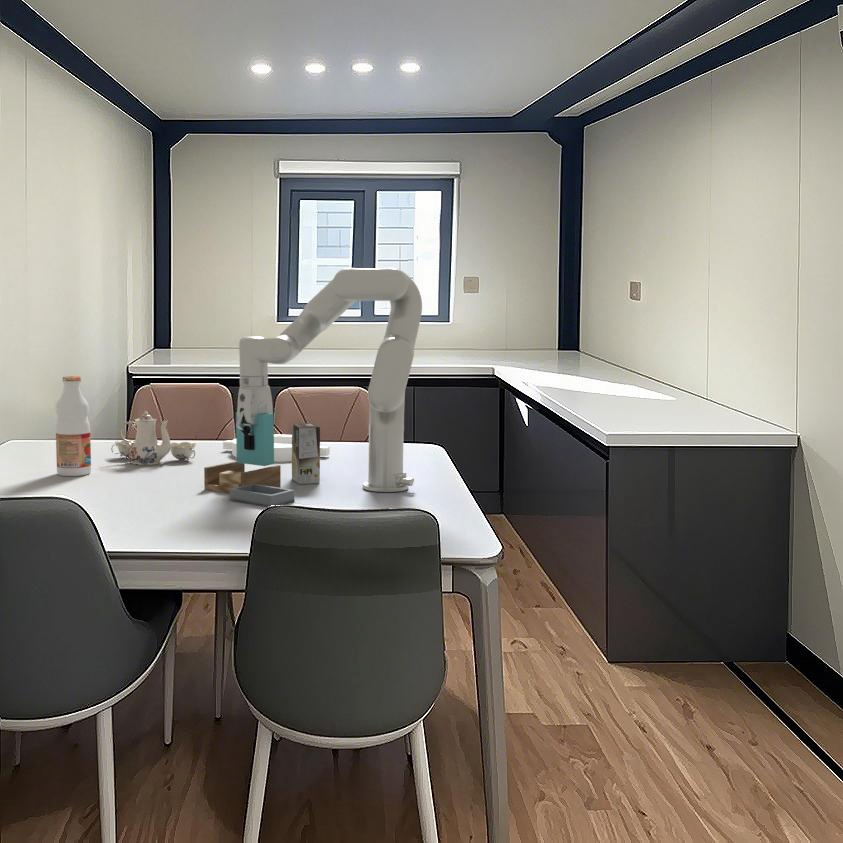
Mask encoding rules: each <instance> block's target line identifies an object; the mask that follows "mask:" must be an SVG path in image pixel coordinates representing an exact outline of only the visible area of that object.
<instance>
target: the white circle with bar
mask: <svg viewBox="0 0 843 843" xmlns="http://www.w3.org/2000/svg"><path fill="white" fill-rule="evenodd" d="M222 449H223V450H231V455H233V456H232V457H234V456H235V457H234V458H236V457H237V448H236V438H233V439H232V440H229V439H228V440H224V441H223V442H222ZM330 451H331V450H330V446H326V445H325V446H321V445H320V457H321V456H322V457H327V456H329V455H331V454H330ZM276 462H277V463H278V462H280V463H282V462H292V434H283V433H281V434H279V433H278V434H275V433H274V463H276Z"/></svg>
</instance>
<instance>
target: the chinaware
mask: <svg viewBox="0 0 843 843" xmlns="http://www.w3.org/2000/svg"><path fill="white" fill-rule="evenodd" d="M157 421H158V419H157V418H153V417H152V416H151V415H150V414H149V412H148V411H147V410H144V412H143V414H142V415H140V417H139V418H137V419H134V421H125V422H124V423H123V424H122V425H121V426H120V428H119V435H120V437H121V439H122V440H121V441H119V440H116V441H114V444H112V445H111V452H112V453H113V454H115V455H118V454H119V457H123V456H124V458H125V457H128V458H131V459H130V460H131V461H132V464H133V465H135V464H138V465H137V466H154V465H159V464H161V463H162V462H161V460H162V459H164V458H165V457H166V456H167V455H168V454H169V453H171V455H172V457H174V458H175V459H176V461H177V462H181V463H182V462H183V463H184V462H188V461H190V459H194V458H195V456H196V451H195V447H196V446H197V443H191V442H187V441H183V442H181V443H177V442H171V439H170V436H169V433H168V429H167V426H166V425H167V423H169V420H168V419H165V420H163V421H162V422H161V426H160V433H161V441H162V442H161V443H160V442H158V438H157V435H156V423H157ZM128 424H132V425H131V428H132V429H135V428H136V436H135V440H131V439H126V438H125V436H124V435H123V428H124V426H126V425H128ZM114 446H115V447H117V449H118V452H117V453H115V451H113V450H114V449H113V447H114ZM191 456H192V457H191Z"/></svg>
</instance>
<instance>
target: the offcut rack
mask: <svg viewBox="0 0 843 843" xmlns="http://www.w3.org/2000/svg"><path fill="white" fill-rule="evenodd" d="M245 465H246V464H243V463H237V460H235V461H231V462H226V463H219V464H215V465H211V466H206V467H204V468H203V469H204V470H203V471H204V472H203V473H204V474H203V477H204V478H203V479H204V481H203V482H204V490H205V491H211V490H212V492H217V491H218V493H223V492H224V494H229V495H230V489H232V488H233V487H226V486H220V485H219V473H221V472H226V471H234V472H243V473H241V486H245V485H249V484H258V485H265V486H271V487H278V488H282V487H281V486H282V484H281V483H282V482H281V479H282V476H281V474H282V473H281V470H282V467H281V465H280V464H279V465H278V464H276V465H273V466H271V465H270V466H267V467H266V466H265V467H263V468H258V469H253V470H249V471H245V470H246V467H245Z"/></svg>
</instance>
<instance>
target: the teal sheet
mask: <svg viewBox="0 0 843 843" xmlns="http://www.w3.org/2000/svg"><path fill="white" fill-rule="evenodd" d="M257 415H258V423H257V424H256V425H254V426H253V435H254V450H247V449H244V435H243V434H242V431H241V430H240V429H239V428H238V427H236V426H235V434H236V436H235V437H236V438H235V439H236V448H237V458H236V461H237V463H243V464H245V465H254V466H259V467H266V466H267V467H269V466H271V465H275V462H274V434H275V433H274V432H275V426H274V412H273V413H263V414H257ZM237 420H238V416H237V412H235V424H236V423H237ZM247 424H249V423H247ZM247 428H248V429H249V426H247Z"/></svg>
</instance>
